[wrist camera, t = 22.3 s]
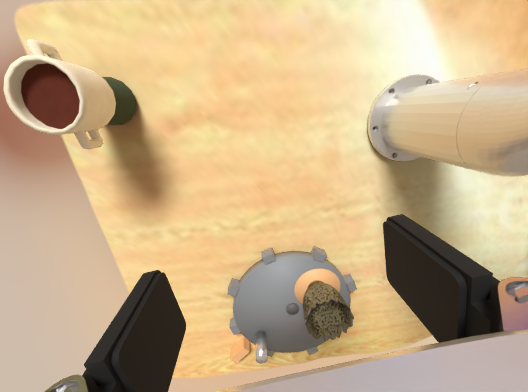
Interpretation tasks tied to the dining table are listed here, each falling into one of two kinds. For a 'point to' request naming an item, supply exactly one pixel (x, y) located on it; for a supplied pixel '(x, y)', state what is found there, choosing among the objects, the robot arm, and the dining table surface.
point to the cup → (325, 311)
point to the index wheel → (282, 300)
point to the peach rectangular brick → (240, 350)
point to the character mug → (65, 96)
